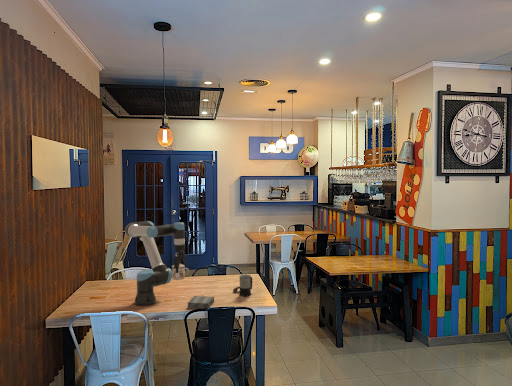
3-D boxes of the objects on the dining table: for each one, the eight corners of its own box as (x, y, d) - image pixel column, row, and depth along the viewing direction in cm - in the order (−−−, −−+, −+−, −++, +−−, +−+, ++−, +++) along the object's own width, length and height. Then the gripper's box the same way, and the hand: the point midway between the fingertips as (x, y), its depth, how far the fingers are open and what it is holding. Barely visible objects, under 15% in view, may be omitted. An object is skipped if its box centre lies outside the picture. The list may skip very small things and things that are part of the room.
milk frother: (249, 297, 285) (249, 277, 285) (229, 295, 289) (229, 276, 288) (253, 291, 299) (253, 273, 299) (234, 290, 303) (234, 272, 302)
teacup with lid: (171, 280, 260) (171, 264, 260) (172, 277, 269) (171, 261, 269) (189, 279, 262) (188, 263, 262) (189, 276, 271) (188, 260, 271)
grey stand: (187, 308, 261) (187, 302, 261) (194, 301, 276) (194, 295, 276) (208, 309, 259) (208, 303, 259) (214, 302, 274) (214, 296, 274)
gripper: (178, 246, 253) (179, 279, 254) (189, 241, 275) (190, 272, 275) (168, 246, 255) (169, 279, 255) (180, 241, 276) (181, 271, 277)
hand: (180, 275), depth 265 cm, fingers closed on teacup with lid, 9 cm apart
